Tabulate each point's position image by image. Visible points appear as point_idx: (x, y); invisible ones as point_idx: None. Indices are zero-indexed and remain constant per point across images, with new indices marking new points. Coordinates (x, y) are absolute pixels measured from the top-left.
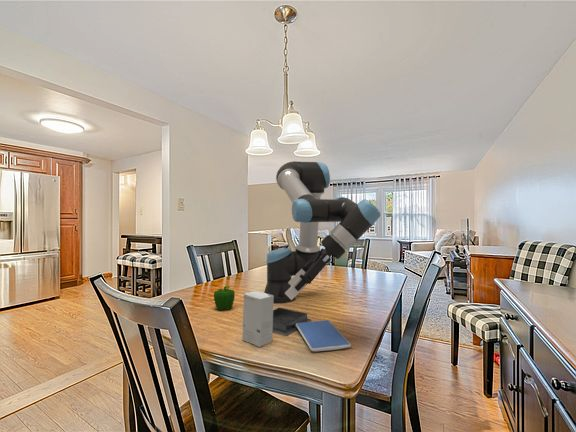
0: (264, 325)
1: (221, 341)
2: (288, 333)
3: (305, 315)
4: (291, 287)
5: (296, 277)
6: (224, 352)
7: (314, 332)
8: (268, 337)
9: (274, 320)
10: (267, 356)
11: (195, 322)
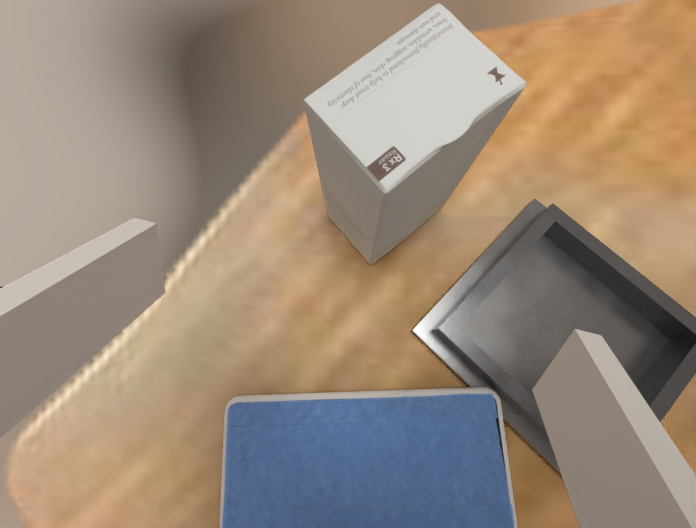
0: (335, 203)
1: None
2: (420, 339)
3: None
4: (58, 261)
5: (616, 453)
6: None
7: (374, 459)
8: (354, 242)
9: (578, 299)
10: (255, 235)
11: (590, 11)
